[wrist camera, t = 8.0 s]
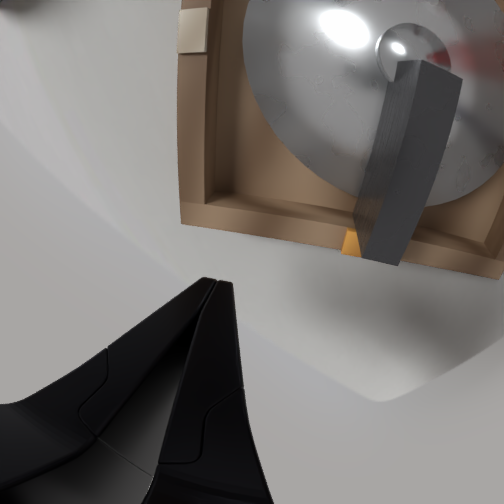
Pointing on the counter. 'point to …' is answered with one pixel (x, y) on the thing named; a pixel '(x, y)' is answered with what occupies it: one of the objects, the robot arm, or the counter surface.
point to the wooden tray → (292, 164)
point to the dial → (383, 101)
